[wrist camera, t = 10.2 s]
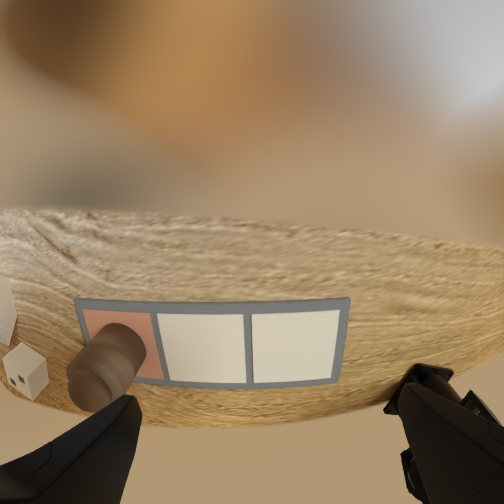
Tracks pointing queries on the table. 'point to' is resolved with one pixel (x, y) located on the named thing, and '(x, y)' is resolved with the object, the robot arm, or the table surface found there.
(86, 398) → the pawn
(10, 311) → the figurine
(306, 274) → the table surface
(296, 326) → the game board
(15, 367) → the cream box with slots
